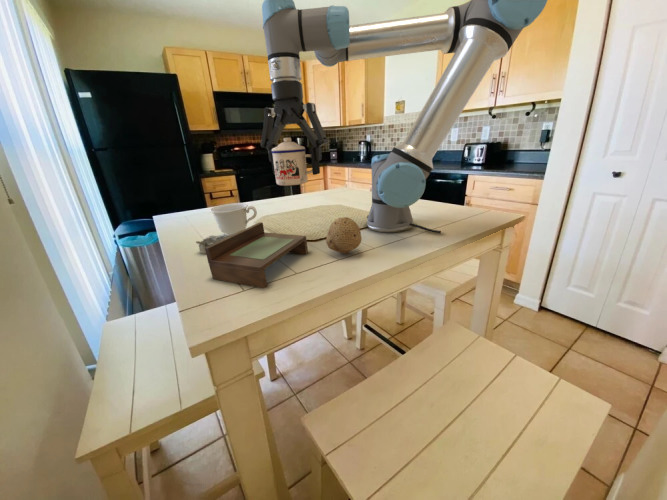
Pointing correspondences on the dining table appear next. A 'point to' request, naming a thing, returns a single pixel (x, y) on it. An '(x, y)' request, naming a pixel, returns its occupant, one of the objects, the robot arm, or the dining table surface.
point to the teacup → (232, 217)
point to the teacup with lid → (290, 163)
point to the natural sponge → (343, 235)
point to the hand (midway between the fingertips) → (296, 174)
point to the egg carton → (210, 242)
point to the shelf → (251, 254)
